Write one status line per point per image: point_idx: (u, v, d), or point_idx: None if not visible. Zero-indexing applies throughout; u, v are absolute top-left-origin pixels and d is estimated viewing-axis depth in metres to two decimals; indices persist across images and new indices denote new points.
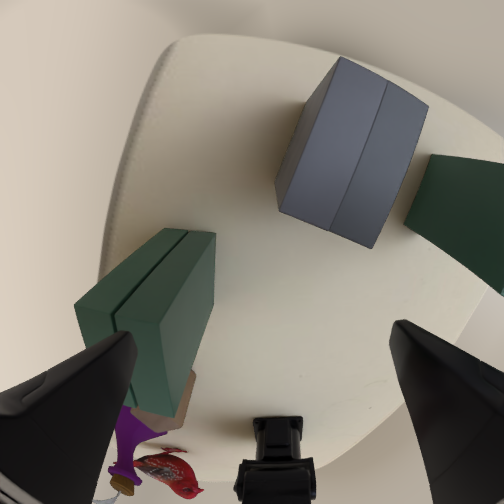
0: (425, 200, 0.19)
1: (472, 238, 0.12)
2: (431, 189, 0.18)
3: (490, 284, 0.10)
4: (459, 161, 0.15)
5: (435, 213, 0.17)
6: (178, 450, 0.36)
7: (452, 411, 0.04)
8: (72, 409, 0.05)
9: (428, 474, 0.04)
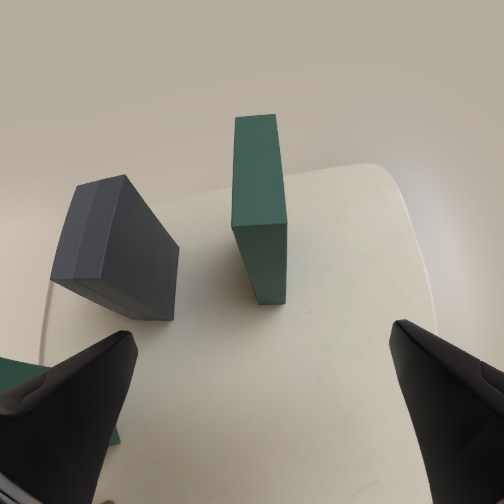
0: None
1: None
2: None
3: (235, 236, 0.12)
4: None
5: None
6: None
7: (452, 411, 0.04)
8: (72, 409, 0.05)
9: (428, 474, 0.04)
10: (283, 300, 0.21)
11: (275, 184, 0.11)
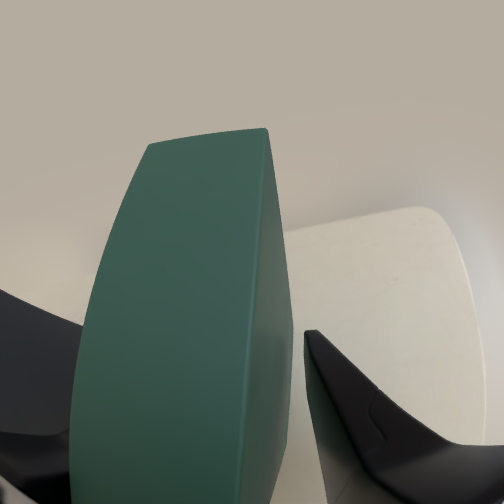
0: None
1: None
2: None
3: None
4: None
5: None
6: None
7: (334, 441, 0.04)
8: None
9: (327, 499, 0.05)
10: None
11: (204, 500, 0.02)
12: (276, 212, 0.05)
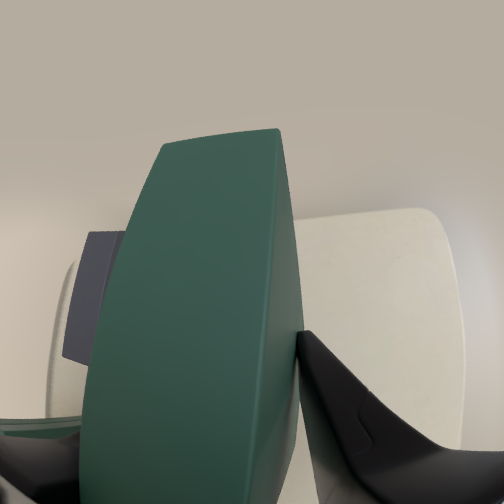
0: None
1: None
2: None
3: None
4: None
5: None
6: None
7: (323, 442, 0.04)
8: None
9: None
10: None
11: (213, 492, 0.02)
12: (288, 211, 0.05)
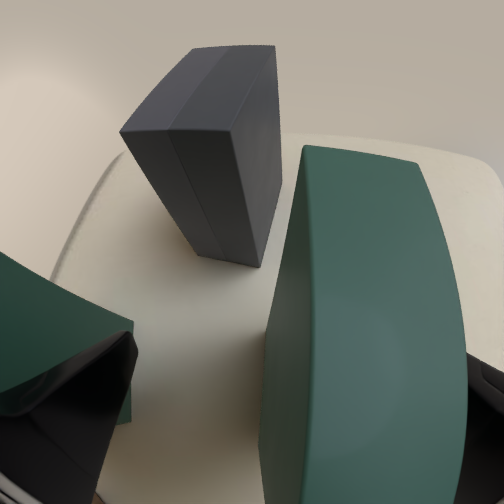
0: (262, 403, 0.12)
1: (270, 453, 0.05)
2: (264, 382, 0.12)
3: None
4: (270, 315, 0.11)
5: (263, 419, 0.10)
6: None
7: None
8: (72, 409, 0.05)
9: None
10: None
11: (443, 480, 0.02)
12: None
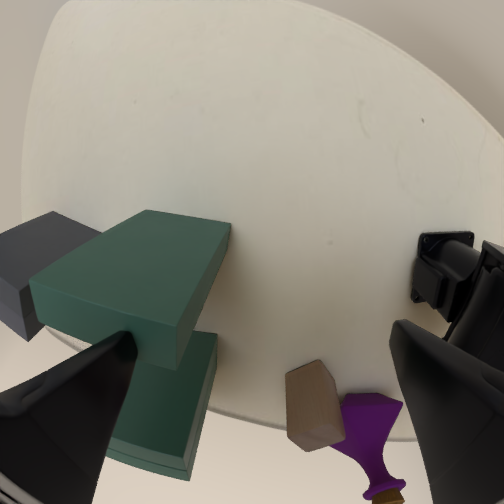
0: None
1: None
2: None
3: (181, 353, 0.10)
4: None
5: None
6: None
7: (452, 411, 0.04)
8: (72, 409, 0.05)
9: (428, 474, 0.04)
10: (228, 229, 0.20)
11: (124, 319, 0.09)
12: (57, 267, 0.10)
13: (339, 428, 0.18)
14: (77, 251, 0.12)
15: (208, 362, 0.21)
